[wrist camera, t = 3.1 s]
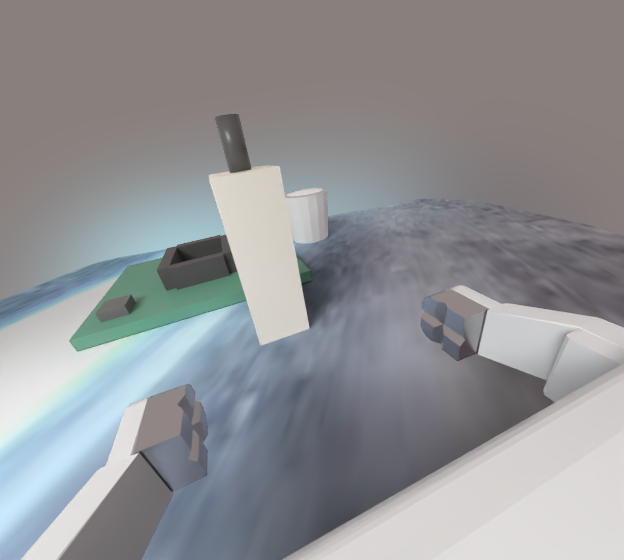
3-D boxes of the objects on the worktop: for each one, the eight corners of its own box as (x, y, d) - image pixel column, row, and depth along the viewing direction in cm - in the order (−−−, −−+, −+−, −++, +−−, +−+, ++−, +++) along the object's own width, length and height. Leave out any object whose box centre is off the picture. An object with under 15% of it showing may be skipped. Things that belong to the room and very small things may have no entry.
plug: (260, 345, 19) (188, 113, 12) (251, 312, 23) (193, 126, 17) (309, 328, 20) (268, 104, 13) (292, 299, 24) (254, 118, 18)
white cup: (340, 231, 41) (336, 186, 37) (315, 247, 36) (308, 197, 33) (307, 228, 45) (301, 187, 42) (281, 242, 40) (271, 197, 37)
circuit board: (77, 351, 22) (50, 316, 20) (131, 273, 37) (119, 250, 36) (312, 280, 27) (306, 248, 26) (275, 238, 43) (270, 216, 41)
